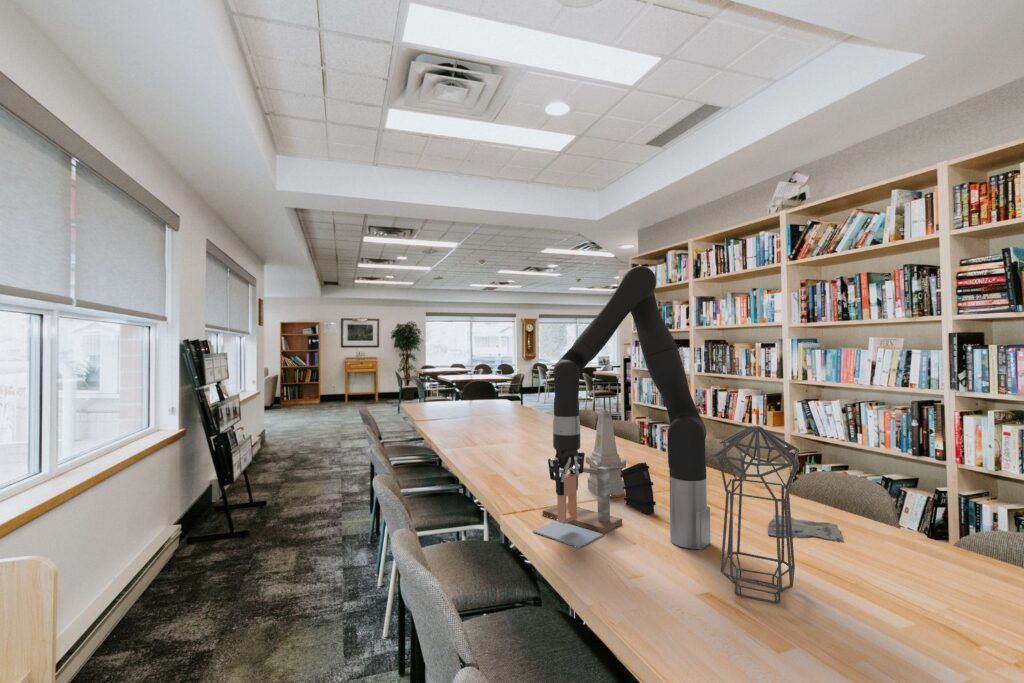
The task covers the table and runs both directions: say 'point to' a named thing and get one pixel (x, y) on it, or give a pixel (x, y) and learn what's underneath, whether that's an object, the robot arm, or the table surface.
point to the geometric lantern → (784, 502)
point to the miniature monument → (606, 456)
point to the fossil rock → (807, 529)
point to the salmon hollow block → (571, 492)
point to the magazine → (638, 488)
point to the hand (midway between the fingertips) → (567, 492)
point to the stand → (602, 518)
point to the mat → (568, 533)
